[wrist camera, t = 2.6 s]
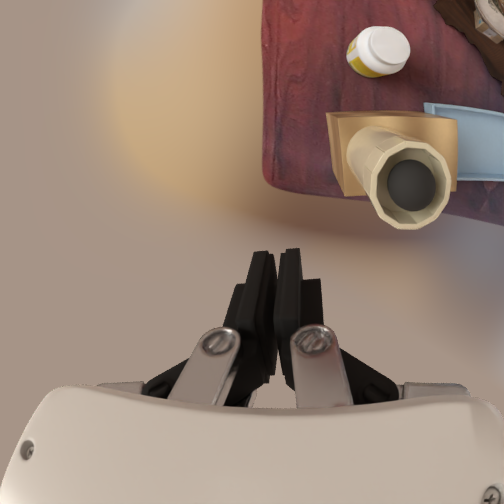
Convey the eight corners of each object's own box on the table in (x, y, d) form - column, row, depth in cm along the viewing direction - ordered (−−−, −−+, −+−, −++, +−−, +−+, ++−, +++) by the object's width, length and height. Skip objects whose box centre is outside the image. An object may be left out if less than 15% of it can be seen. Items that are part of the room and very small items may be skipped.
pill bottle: (384, 83, 32) (415, 80, 22) (343, 72, 33) (360, 62, 23) (389, 45, 29) (419, 31, 19) (347, 33, 29) (365, 12, 19)
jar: (334, 166, 29) (353, 201, 20) (365, 113, 25) (401, 122, 16) (384, 197, 30) (418, 243, 20) (415, 148, 26) (464, 176, 17)
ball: (372, 185, 21) (387, 202, 18) (396, 145, 19) (416, 155, 16) (407, 208, 21) (425, 229, 18) (430, 171, 19) (453, 186, 16)
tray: (426, 175, 38) (433, 180, 35) (423, 102, 32) (431, 103, 30) (517, 177, 33) (526, 182, 30) (519, 116, 27) (528, 119, 25)
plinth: (332, 170, 41) (344, 196, 30) (325, 112, 36) (337, 117, 26) (421, 166, 37) (456, 191, 27) (418, 111, 33) (457, 119, 23)
